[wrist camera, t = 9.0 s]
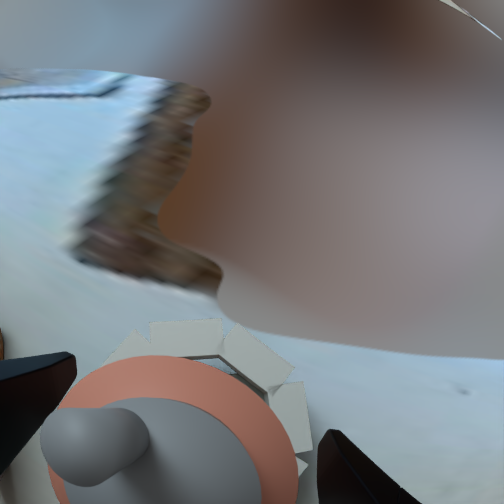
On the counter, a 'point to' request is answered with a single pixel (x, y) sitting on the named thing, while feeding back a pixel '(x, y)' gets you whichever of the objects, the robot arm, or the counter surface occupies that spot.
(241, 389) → the oil can
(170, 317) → the counter surface
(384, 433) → the counter surface
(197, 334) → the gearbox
